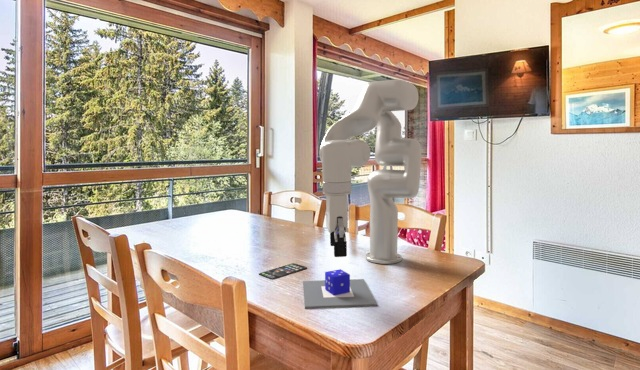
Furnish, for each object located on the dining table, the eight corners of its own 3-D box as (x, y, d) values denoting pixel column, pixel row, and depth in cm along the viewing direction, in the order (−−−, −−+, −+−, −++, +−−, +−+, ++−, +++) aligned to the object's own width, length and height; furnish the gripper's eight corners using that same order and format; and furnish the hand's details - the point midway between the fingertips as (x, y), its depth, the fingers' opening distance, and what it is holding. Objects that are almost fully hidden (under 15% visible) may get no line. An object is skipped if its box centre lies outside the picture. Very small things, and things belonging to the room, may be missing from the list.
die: (333, 295, 100) (333, 277, 99) (324, 289, 104) (324, 271, 104) (350, 292, 102) (350, 274, 101) (340, 286, 106) (340, 269, 106)
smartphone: (257, 273, 119) (293, 262, 130) (257, 275, 119) (293, 264, 130) (272, 279, 114) (308, 267, 124) (272, 281, 114) (308, 269, 124)
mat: (303, 282, 111) (303, 280, 111) (363, 280, 112) (363, 278, 112) (305, 308, 93) (304, 306, 93) (377, 305, 95) (377, 303, 94)
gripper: (320, 184, 108) (321, 242, 111) (325, 193, 91) (327, 262, 94) (346, 183, 109) (347, 241, 111) (356, 192, 92) (357, 260, 94)
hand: (338, 250), depth 102 cm, fingers open, 9 cm apart
